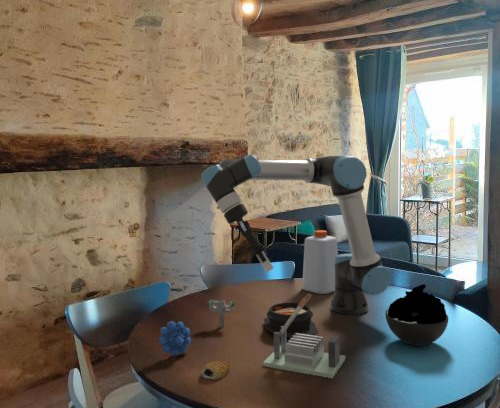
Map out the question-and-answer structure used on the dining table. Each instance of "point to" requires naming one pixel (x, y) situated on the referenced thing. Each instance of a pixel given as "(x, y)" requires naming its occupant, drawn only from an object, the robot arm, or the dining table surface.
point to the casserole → (283, 312)
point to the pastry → (215, 370)
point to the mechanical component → (220, 309)
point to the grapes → (175, 338)
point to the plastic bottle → (319, 263)
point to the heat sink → (306, 349)
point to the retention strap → (295, 313)
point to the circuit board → (319, 369)
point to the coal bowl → (417, 317)
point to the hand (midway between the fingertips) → (270, 270)
